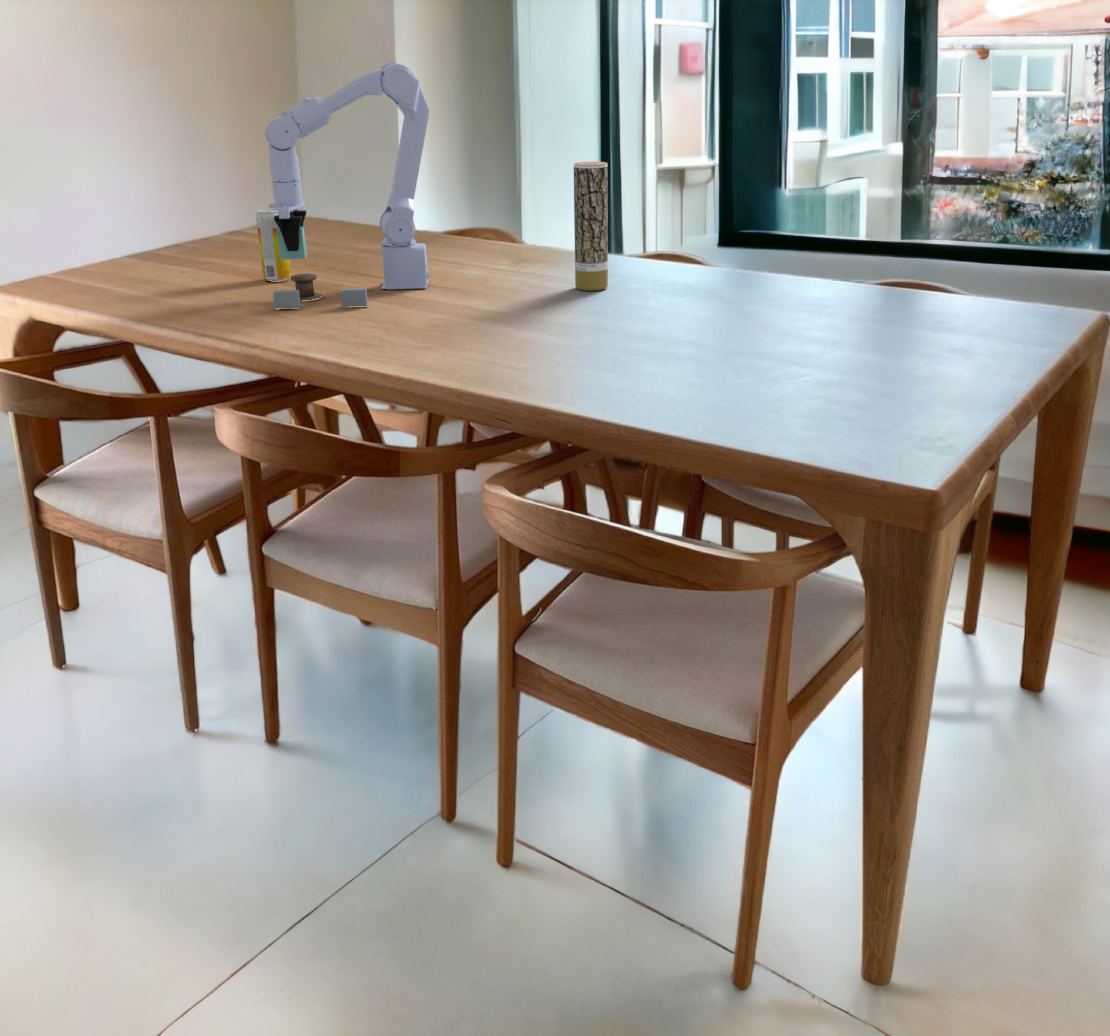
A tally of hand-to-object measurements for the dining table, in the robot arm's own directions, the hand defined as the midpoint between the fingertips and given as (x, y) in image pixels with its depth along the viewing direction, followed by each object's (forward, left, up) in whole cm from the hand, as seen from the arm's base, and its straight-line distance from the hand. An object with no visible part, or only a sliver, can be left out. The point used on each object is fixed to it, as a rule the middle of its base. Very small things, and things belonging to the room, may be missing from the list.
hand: (294, 249), depth 235 cm
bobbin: (-2, +4, -9) cm, 10 cm away
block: (0, 0, -2) cm, 2 cm away
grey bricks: (-6, +13, -9) cm, 17 cm away
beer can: (+7, -15, -10) cm, 19 cm away
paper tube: (-61, +3, -10) cm, 62 cm away
